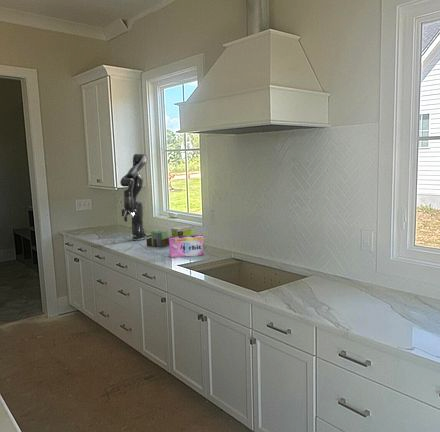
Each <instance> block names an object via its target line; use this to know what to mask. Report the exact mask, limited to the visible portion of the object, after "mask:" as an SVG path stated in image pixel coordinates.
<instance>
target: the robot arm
mask: <svg viewBox="0 0 440 432" xmlns="http://www.w3.org/2000/svg"><path fill="white" fill-rule="evenodd" d="M147 163H148V156H147V154H145V153H134V154H133V156H132V167H131V168H130V169H129V170H128V171H127V173H126V174H125V175H124V176H123V177H121V179H120V183H119V184H120V185H121V187H124V188H125V187H126V188H127V189H124V190H123V191H122V192H123V208H122V209H121V217H123V221H124V222H125V223H126V222H128V216H129V215H130V216H131V217H130V219H131V220H130V221H131V233H132V236H131V237H132V241H143V240H145V239H146V238H150V237H151V234H149V235H147V234H146V232H145V228H144V220H143V219H144V218H143V217H144V205H143V203H142V201H137V197H138V195H139V194H140V192H141V191H142V189H143V185H144V178H143V176H142V174H141V172H140V171H141V170H143V168H144V167H145V166H146V165H147Z"/></svg>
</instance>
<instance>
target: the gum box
mask: <svg viewBox="0 0 440 432" xmlns="http://www.w3.org/2000/svg"><path fill="white" fill-rule="evenodd" d="M168 238H169V257H170V258H181V257H182V258H183V257H197V256H203V255H204V254H203V253H204V252H203V248H204V243H203V242H204V240H205V238H204V236H203V234H194V235H192V236H176V237H172V236H169V237H168Z"/></svg>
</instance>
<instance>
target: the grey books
mask: <svg viewBox="0 0 440 432" xmlns="http://www.w3.org/2000/svg"><path fill="white" fill-rule="evenodd" d="M162 231H163V230H160V232H157V233H156V243H157V247H156V248H162V242H161V232H162Z"/></svg>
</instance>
